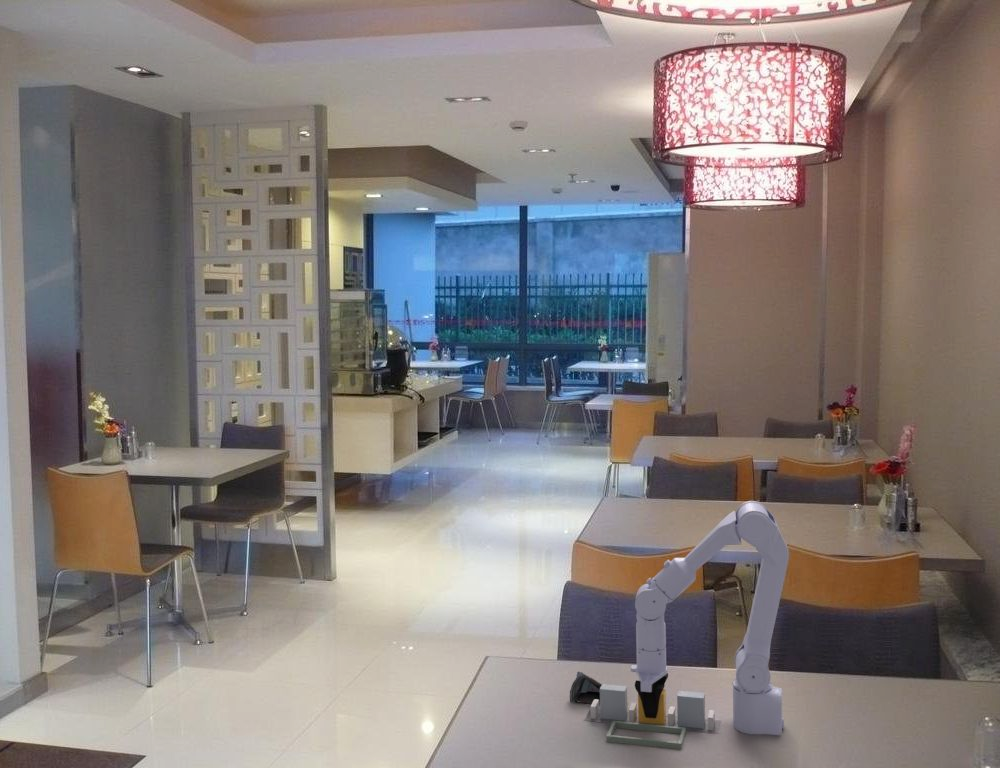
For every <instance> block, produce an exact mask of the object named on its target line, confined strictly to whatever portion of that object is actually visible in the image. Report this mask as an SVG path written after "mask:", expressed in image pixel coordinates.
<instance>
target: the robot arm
mask: <svg viewBox="0 0 1000 768" xmlns="http://www.w3.org/2000/svg"><path fill="white" fill-rule="evenodd" d="M742 540H744V542H746V543H747V544H749V545H750V546H752V547H754V548H755V550H756V551H757V553H759V555H760V557H761V562H760V568H759V572H758V578H757V580H756V581H757V582H756V586H755V590H754V596H753V600H752V605H751V609H750V613H749V619H748V623H747V624H748V625H747V627H746V628H747V629H746V632H745V635H744V636H743V640H742V643H741V646H740V647H739V648H738V649H737V650H736V652H735V653H734V665H735V671H736V672H735V678H734V680H733V681H732V698H733V699H732V719H733V720H732V723H733V728H734V729H735V730H737V731H739V732H740V733H744V734H747V735H773V736H782V734H783V728H784V727H785V717H783V688H781V687H777V686H774V685H772V681H771V671H770V669H769V662H770V658H771V657H770V656H771V643H772V638H773V633H774V628H775V624H776V620H777V615H778V611H779V606H780V601H781V597H782V596H781V595H782V591H783V587H784V583H785V580H786V579H785V578H786V573H787V568H788V564H789V559H790V551H789V549H788V548H789V547H788V546H787V543H786V541H785V539H784V535H782V533H781V530H780V528H779V526H778V523H777V521H776V519H775V517H774V514H772V513H771V511H770V510H769V509H768V508H767V507H766V506H765V505H764V504H763V503H761V502H759V501H755V500H748V501H745V502H743V503H741V504H740V505H739V506H738V507H737V508H736V511H735V510H733V511H731V512H730V513H729V514H727V515H726V516H725V517H724V518H723V519H722V520H721V521H720V522H719V523H718V524H717V525H716V526H715V527H714V528H713V529H712V530H711V531H710V532H709V533H708V534H707V535H705V537H703V539H702V540H701V541H699V543H698V544H696V546H695V547H694V548H693V549H692V550H690V552H689V553H688V554H686V556H685V557H673V559H672V560H670V559H667V560H666V561H664V563H663V568H662V569H660V571H658V573H657V574H656V575H654V577H652V578H651V577H649V578H648V579H646V583H645V584H642V585H641V586H640V587H639V588H638V590H637V592H636V595H635V601H634V607H635V610H636V614H635V615H636V616H635V617H636V623H635V629H636V630H635V634H636V635H635V636H636V637H635V639H636V640H635V641H636V642H635V643H636V645H635V647H636V664H632V665H631V667H630V672H632V673H636V675H637V677H638V679H639V680H635V682H634V688H635V690H636V692H637V695H638V694H639V696H640V698H641V702H642V706H643V710H644V714H645V717H646V718H656V716H657V712H658V706H659V699H660V695H661V693H662V691H663V689H664V688H665V685H666V684H665V683H666V682H667V679H668V677H669V673H668V666H667V632H666V631H667V630H666V628H667V625H666V622H665V612H666V608H667V604H669V603H672V602H673V601H675V600H676V599H677V598H678V597H679V596H680V595H681V594H682V593H684V591H686V590H687V589H688V588H689V587H690V586H691V585H693V583H694V582H695V581H697V580H696V578H697V574H696V573H697V571H698V570H699V569H700V568H701V567H702V566H703V565H704V564H706V563H707V562H708V561H710V559H712V558H713V557H714V556H715V555H716V554H718V553H719V552H720V551H721V550H722V549H724V548H725V547H726V546H736V545H737V546H738V545H742ZM664 690H665V689H664Z"/></svg>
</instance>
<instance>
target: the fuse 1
mask: <svg viewBox="0 0 1000 768" xmlns="http://www.w3.org/2000/svg"><path fill="white" fill-rule="evenodd" d="M601 684H602V686H601V687H600V692H599V709H600V718H602V719H612V720H622V721H625V720H626V718H627V716H628V712H629V709H628V705H627V703H628V686H627V685H617V684H606V683H605V684H604V683H601Z"/></svg>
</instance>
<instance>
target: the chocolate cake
mask: <svg viewBox="0 0 1000 768" xmlns="http://www.w3.org/2000/svg"><path fill="white" fill-rule="evenodd" d="M576 673H577V674H576V678H575V679H574V680H573V682H572V685H571V687H570V691H569V703H570V704H575V703H576V705H577V704H578V705H591V704H592V703H593V702H592V703H589V702H586V701H585V702H584V701H578V698H579V697H580V693H584V694H585V693H586V694H587V693H588V692H594V693H596V694H597V695H598V694H599V693H600V687H601V686H602V684H603V683H600V682H599V681H598V680H596V679H594V678H592V677H591V676H589V675H587V674H585V673H583V672H582V671H581V672H580V671H577V672H576ZM628 705H629V702H627V706H628Z"/></svg>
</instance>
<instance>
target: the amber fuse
mask: <svg viewBox="0 0 1000 768" xmlns="http://www.w3.org/2000/svg"><path fill="white" fill-rule="evenodd" d="M666 691H667V690H666V689H663V691H662V693H661V695H660V699H659V706H658V712H657V716H656V718H646V717H645V714H644V710H643V706H642V702H641V698H640V696H639V694H638V693H637V713H638V722H643V723H653V724H663V725H664V723H665V720H666V716H667V707H666V706H667V705H666V704H667V697H666V695H667V694H666V693H667V692H666Z"/></svg>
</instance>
